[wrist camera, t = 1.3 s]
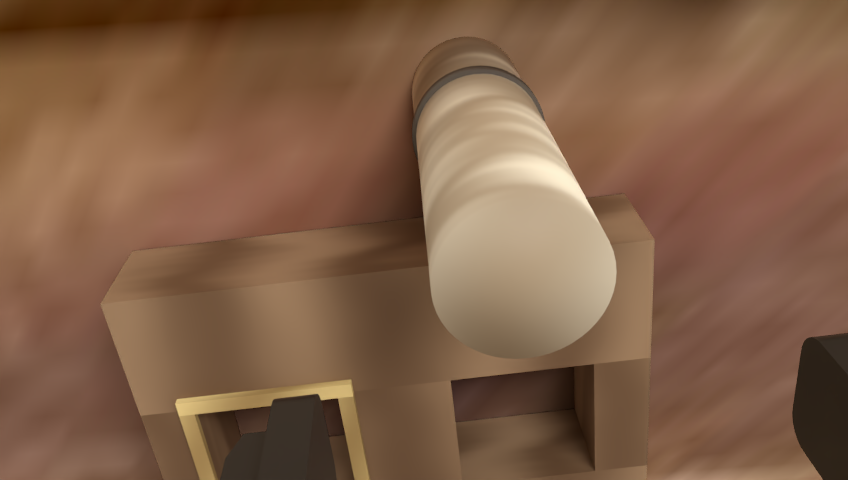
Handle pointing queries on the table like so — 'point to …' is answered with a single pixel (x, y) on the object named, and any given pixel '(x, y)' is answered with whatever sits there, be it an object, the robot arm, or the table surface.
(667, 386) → the table surface
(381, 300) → the walnut board
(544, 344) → the birch peg
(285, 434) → the robot arm
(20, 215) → the table surface
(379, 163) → the table surface
